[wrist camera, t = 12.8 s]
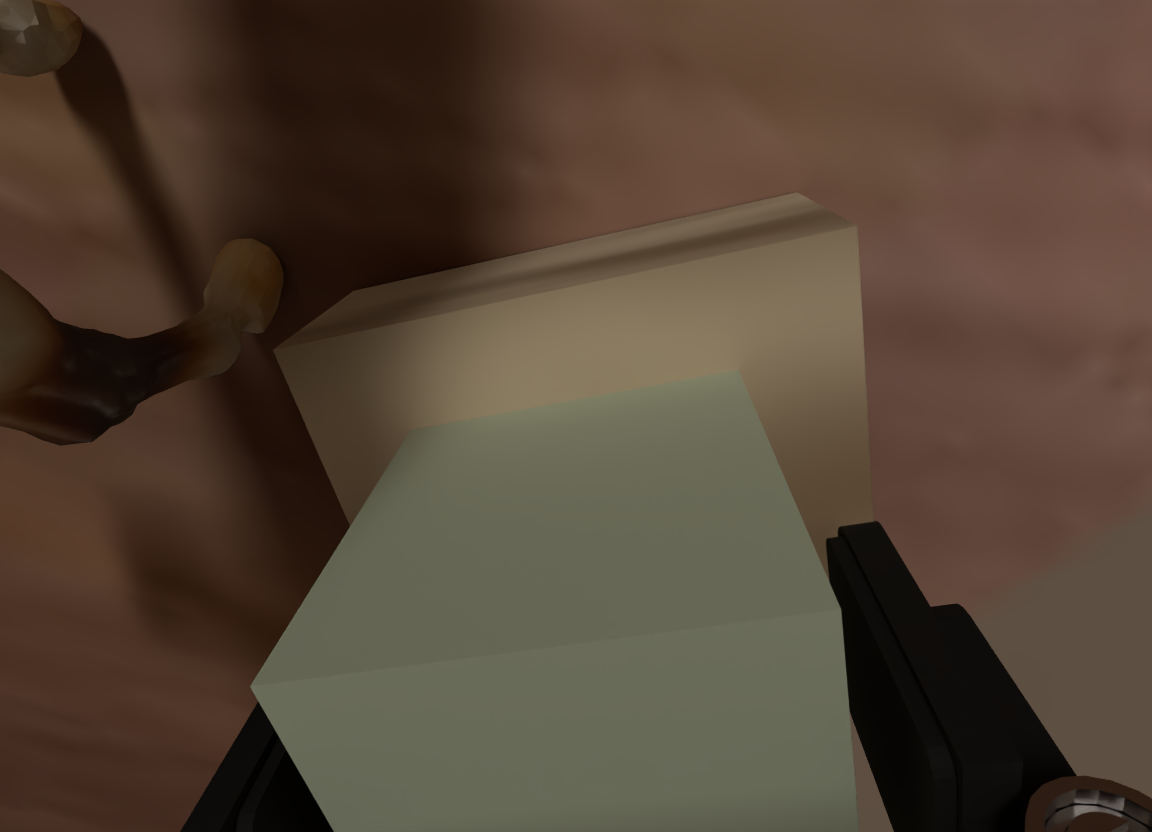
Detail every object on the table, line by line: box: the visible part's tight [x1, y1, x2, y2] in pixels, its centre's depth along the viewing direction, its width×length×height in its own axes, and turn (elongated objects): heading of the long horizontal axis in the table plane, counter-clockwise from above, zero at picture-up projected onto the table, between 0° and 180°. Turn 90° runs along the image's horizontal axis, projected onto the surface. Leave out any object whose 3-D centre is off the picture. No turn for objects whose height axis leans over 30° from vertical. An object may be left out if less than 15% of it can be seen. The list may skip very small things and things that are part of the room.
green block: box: [250, 370, 859, 832], centre depth 11 cm, size 6×6×6 cm
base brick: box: [273, 192, 874, 580], centre depth 15 cm, size 10×10×4 cm
